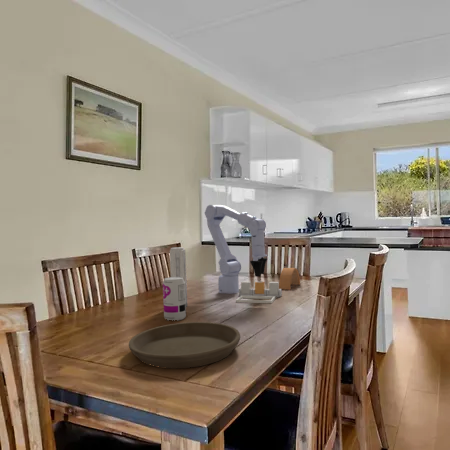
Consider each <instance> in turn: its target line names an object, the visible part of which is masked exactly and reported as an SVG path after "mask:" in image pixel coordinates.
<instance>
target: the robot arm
mask: <svg viewBox="0 0 450 450" xmlns="http://www.w3.org/2000/svg"><path fill="white" fill-rule="evenodd" d="M204 215H205V218H206V224H207V228H208V230H209V233H210V235H211V238H212V240H213V243H214V245H215V247H216V250H217V253H218V254H219V257H220V259H219V261H218V264H219V271H220V273H221V275H219V276H218V281H217V283H218V284H217V285H218V293H219V294H237V293H238V294H239V289H240V287H239V286H240V285H239V274H240V272H241V270H242V264H241V263H240V261H239V260H238V259H237V256H235V255H234V254H232V253H231V250H230V247H229V245H228V243H227V240H226V237H225V235H224V233H223V231H222V229H221V226H220V225H221V223H222V221H223V220H224V218H225V217H226V216H227V217H229V218H231V219H234V220H236V221H237V223H238V224H239V225H241V226H242V227H243V226H244V227H246V228H247V229H248V230H249V231H250V232H249V233H250V236H251V253H252V255H251V258H252V260H249V261H250V264H251V266H252V268H253V272H254V276H255V277H256V278H257V277H259V278H260V277H261V275H264V273H265V268H266V264H267V261H268V258H267V257H268V254H266V250H265V248H266V247H265V229H266V228H267V223H266V221H265V220H264V219H263V218H257V216H255V215H253V216H252V214H251V215H250V214H249V212H247V211H245V212H244V211H243V212H241V213H239V212H238V211H237V210H235V209H232V208H230V207H229V206H228V205H224V204H209V205H207V206H206V208H205V210H204Z"/></svg>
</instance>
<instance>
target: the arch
mask: <svg viewBox="0 0 450 450" xmlns="http://www.w3.org/2000/svg"><path fill="white" fill-rule="evenodd" d="M280 272H281V273H280V275H279V281H278V282H279V289H282V290H287V291H288V290H290V291H291V285H296V286H297V285H301V278H300V277H301V276H300V273H299V269H297V267H284V268H282V270H281V271H280Z"/></svg>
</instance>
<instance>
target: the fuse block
mask: <svg viewBox="0 0 450 450" xmlns="http://www.w3.org/2000/svg"><path fill="white" fill-rule="evenodd" d="M282 290H283V289H279V294H269V288H265V290H264V294H255V287H251V289H250V294H245V293H241V287H239V292H238V298H239V297H240V296H275V298H280V297H282V295H283V292H282Z"/></svg>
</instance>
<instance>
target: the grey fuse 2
mask: <svg viewBox="0 0 450 450" xmlns="http://www.w3.org/2000/svg"><path fill="white" fill-rule="evenodd" d="M268 289H269V294H279V281H270V282H269V283H268Z"/></svg>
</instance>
